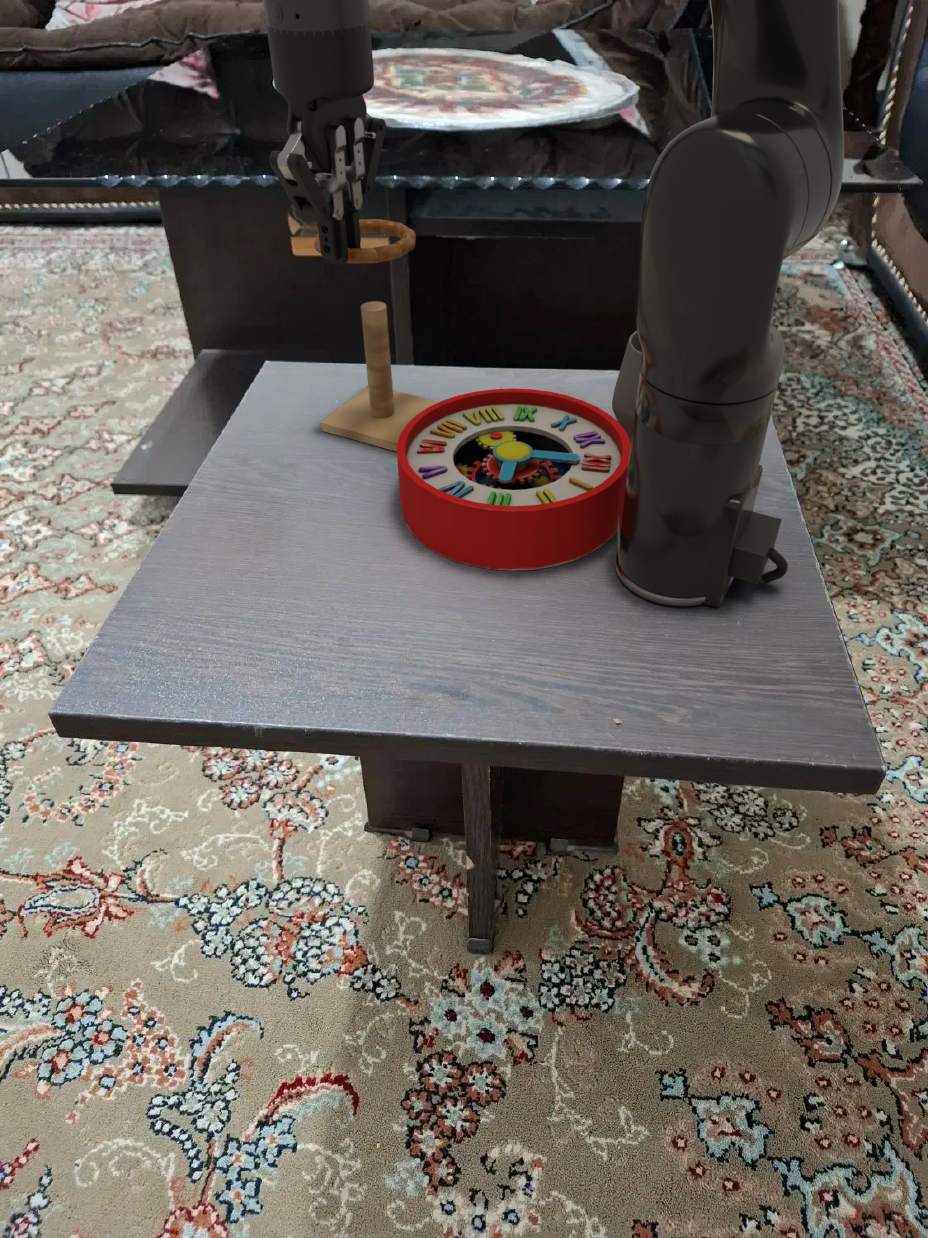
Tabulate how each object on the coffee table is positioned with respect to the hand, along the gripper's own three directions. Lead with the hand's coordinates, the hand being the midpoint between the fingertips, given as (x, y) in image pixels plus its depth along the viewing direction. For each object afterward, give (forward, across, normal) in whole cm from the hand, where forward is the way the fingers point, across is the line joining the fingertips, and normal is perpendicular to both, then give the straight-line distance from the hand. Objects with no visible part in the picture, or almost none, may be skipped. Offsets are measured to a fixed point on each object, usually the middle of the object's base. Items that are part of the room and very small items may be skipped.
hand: (342, 258), depth 76 cm
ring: (0, +4, 0) cm, 4 cm away
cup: (+18, +13, -26) cm, 34 cm away
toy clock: (+18, -3, -18) cm, 25 cm away
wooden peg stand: (+18, +4, 0) cm, 18 cm away
